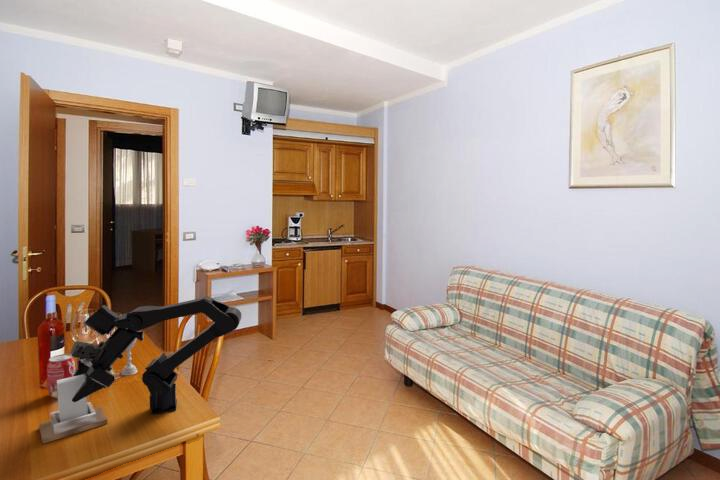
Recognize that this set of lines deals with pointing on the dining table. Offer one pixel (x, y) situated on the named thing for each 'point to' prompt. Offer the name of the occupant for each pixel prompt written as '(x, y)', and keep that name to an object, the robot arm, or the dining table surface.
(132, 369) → the chalice
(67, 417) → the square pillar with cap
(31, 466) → the dining table surface
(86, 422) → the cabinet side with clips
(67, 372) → the soda can
